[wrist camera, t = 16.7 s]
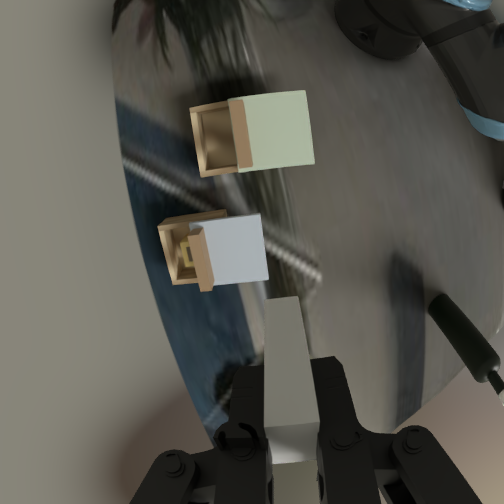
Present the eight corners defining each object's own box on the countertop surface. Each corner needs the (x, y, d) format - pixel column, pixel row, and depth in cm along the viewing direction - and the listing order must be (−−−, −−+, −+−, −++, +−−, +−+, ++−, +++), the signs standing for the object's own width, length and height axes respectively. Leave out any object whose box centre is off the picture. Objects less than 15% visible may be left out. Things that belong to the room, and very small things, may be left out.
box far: (166, 217, 45) (157, 226, 41) (225, 209, 44) (222, 216, 40) (179, 272, 49) (173, 284, 45) (235, 266, 48) (233, 279, 44)
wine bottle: (431, 296, 49) (508, 401, 22) (451, 292, 49) (530, 387, 21) (426, 318, 51) (492, 423, 24) (446, 314, 51) (514, 410, 23)
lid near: (228, 99, 33) (224, 95, 30) (304, 91, 32) (308, 86, 29) (239, 171, 37) (236, 175, 33) (313, 163, 36) (319, 166, 33)
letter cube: (186, 233, 45) (179, 242, 42) (210, 230, 45) (205, 239, 41) (191, 256, 47) (185, 267, 43) (214, 253, 46) (210, 264, 43)
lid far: (190, 222, 40) (183, 230, 36) (260, 212, 39) (259, 220, 36) (204, 283, 44) (199, 296, 40) (268, 277, 43) (268, 289, 39)
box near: (196, 110, 38) (189, 108, 34) (263, 99, 37) (263, 95, 33) (206, 173, 42) (200, 177, 38) (272, 164, 41) (273, 167, 37)
